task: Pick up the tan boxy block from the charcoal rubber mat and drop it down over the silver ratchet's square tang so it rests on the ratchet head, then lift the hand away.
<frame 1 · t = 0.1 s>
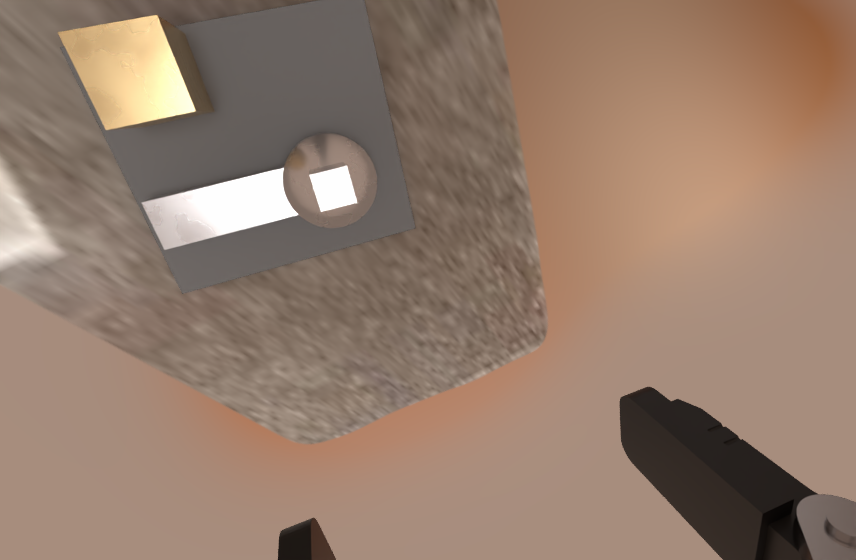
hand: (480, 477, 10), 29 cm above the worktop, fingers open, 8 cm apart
tan boxy block: (162, 81, 29), point 1 cm above the worktop, touching mat
ratchet: (329, 178, 34), point 1 cm above the worktop, touching mat
mat: (267, 151, 33), on the worktop
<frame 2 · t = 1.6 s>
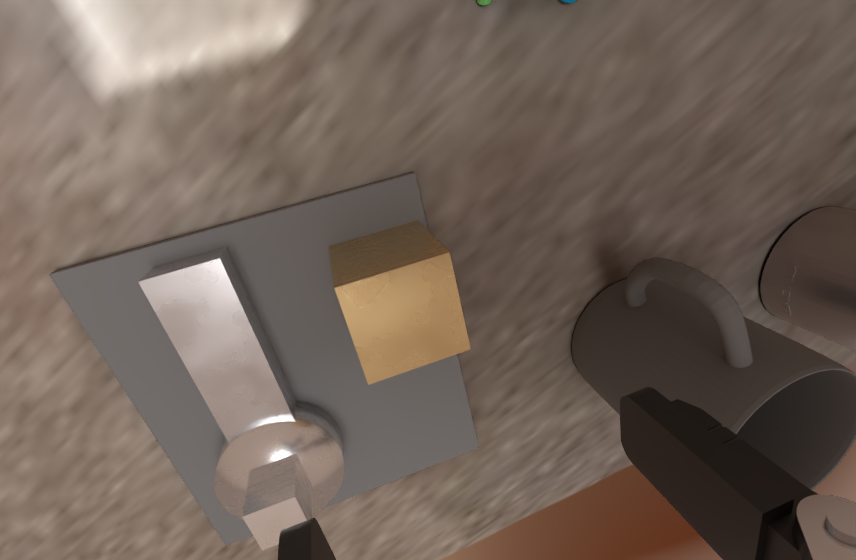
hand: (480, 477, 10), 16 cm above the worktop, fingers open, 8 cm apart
mug: (613, 307, 30), on the worktop
tan boxy block: (385, 274, 24), point 1 cm above the worktop, touching mat
ratchet: (284, 446, 26), point 1 cm above the worktop, touching mat
mat: (310, 374, 26), on the worktop
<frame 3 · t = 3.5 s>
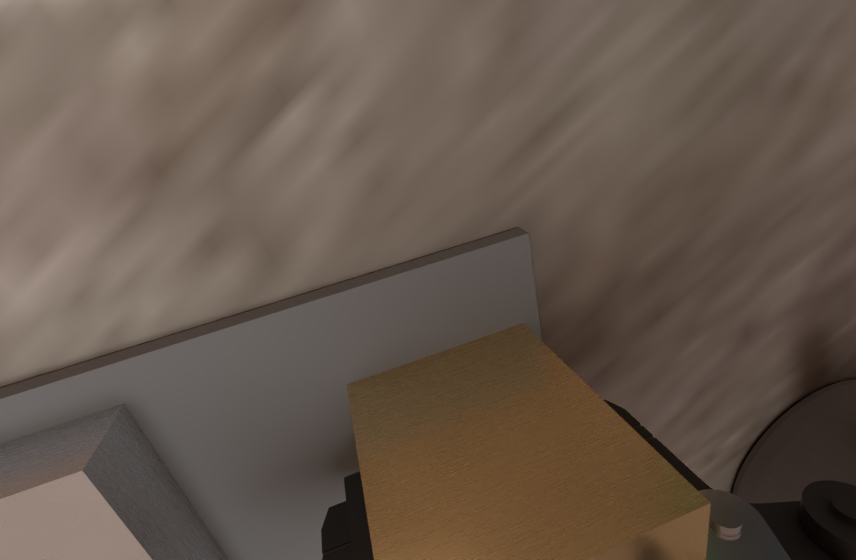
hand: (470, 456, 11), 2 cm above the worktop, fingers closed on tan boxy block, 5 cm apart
mug: (800, 425, 19), on the worktop
tan boxy block: (455, 422, 12), point 1 cm above the worktop, touching gripper, mat
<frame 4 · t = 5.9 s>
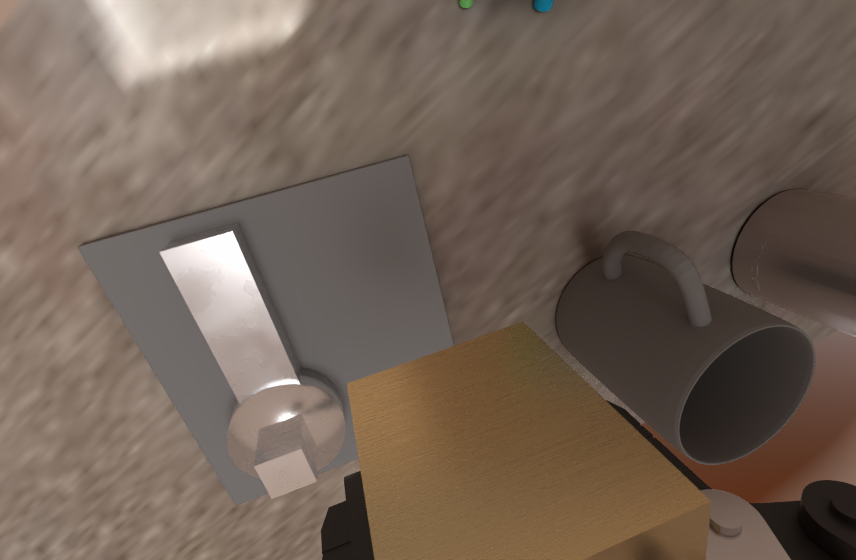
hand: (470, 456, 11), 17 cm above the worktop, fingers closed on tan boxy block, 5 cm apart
mug: (594, 283, 32), on the worktop
tan boxy block: (455, 421, 12), point 16 cm above the worktop, touching gripper
ratchet: (289, 411, 28), point 1 cm above the worktop, touching mat
mat: (313, 343, 28), on the worktop
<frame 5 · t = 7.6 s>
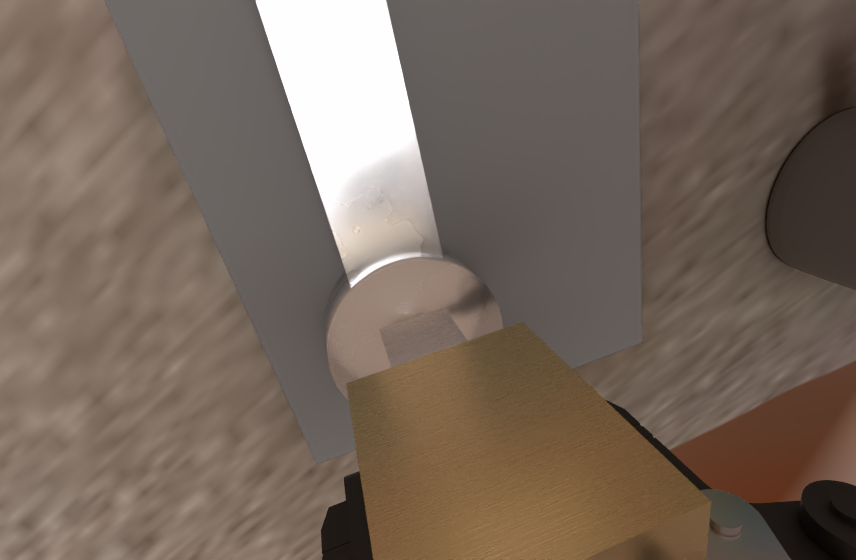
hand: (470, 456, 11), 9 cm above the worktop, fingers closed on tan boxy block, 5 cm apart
mug: (823, 154, 23), on the worktop
tan boxy block: (455, 421, 12), point 8 cm above the worktop, touching gripper
ratchet: (406, 318, 19), point 1 cm above the worktop, touching mat
mat: (447, 210, 18), on the worktop
when the fingers open (6 cm above the worktop, at t = 8.7 s): tan boxy block drops 1 cm, resting on ratchet.
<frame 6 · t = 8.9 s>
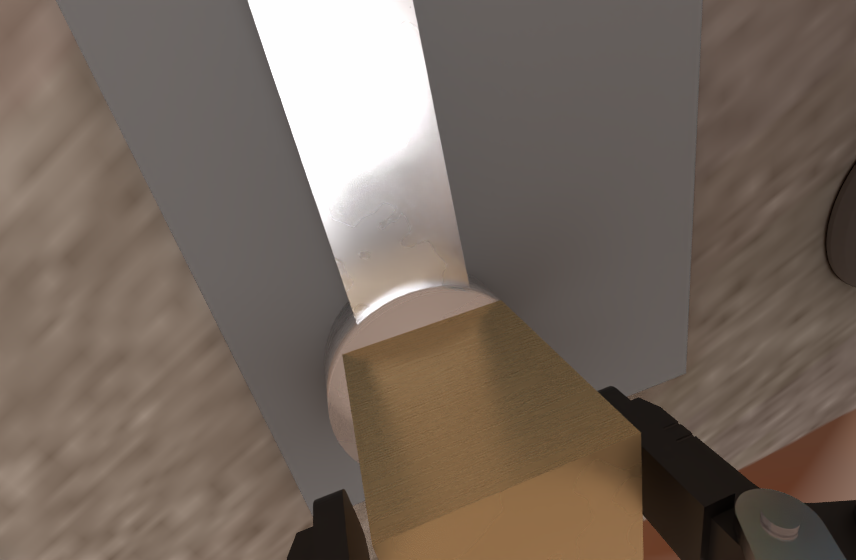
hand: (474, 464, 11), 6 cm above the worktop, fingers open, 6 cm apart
tan boxy block: (441, 391, 14), point 3 cm above the worktop, touching ratchet
ratchet: (420, 353, 16), point 1 cm above the worktop, touching mat, tan boxy block
mat: (470, 226, 15), on the worktop
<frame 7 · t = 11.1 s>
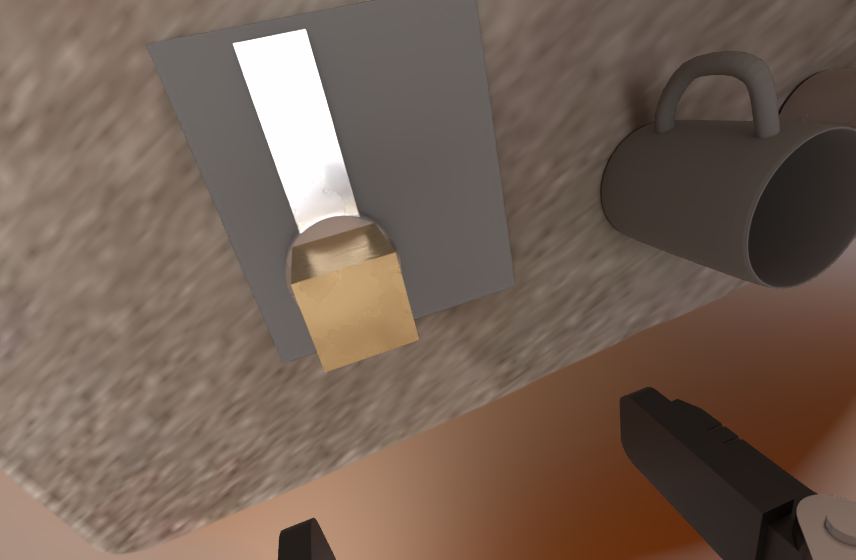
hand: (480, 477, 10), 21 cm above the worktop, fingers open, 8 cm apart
mug: (639, 155, 33), on the worktop
tan boxy block: (346, 272, 26), point 3 cm above the worktop, touching ratchet
ratchet: (341, 260, 28), point 1 cm above the worktop, touching mat, tan boxy block
mat: (367, 188, 28), on the worktop
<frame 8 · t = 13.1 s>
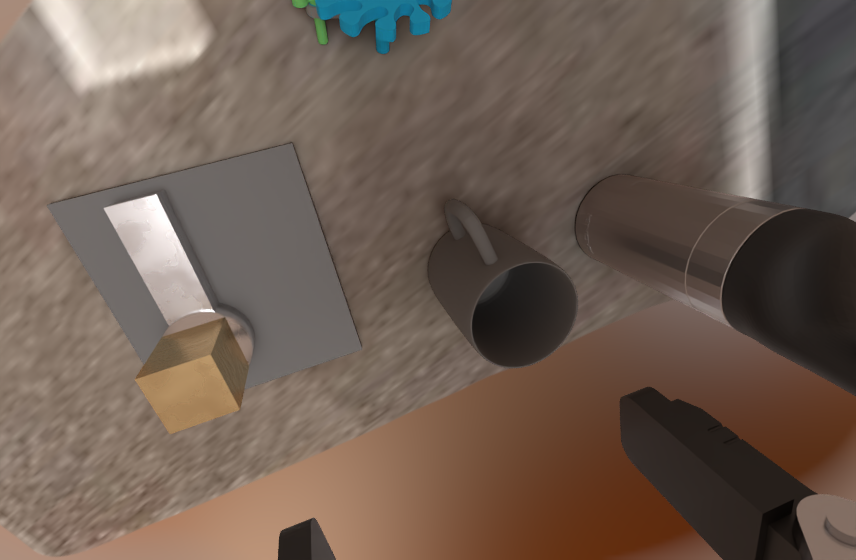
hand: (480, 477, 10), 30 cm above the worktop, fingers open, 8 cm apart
mug: (459, 246, 42), on the worktop
tan boxy block: (207, 352, 35), point 3 cm above the worktop, touching ratchet
gear: (365, 0, 32), on the worktop
ratchet: (212, 338, 37), point 1 cm above the worktop, touching mat, tan boxy block
mat: (229, 285, 37), on the worktop
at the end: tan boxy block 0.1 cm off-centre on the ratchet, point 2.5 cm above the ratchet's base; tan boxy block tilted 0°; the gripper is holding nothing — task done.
